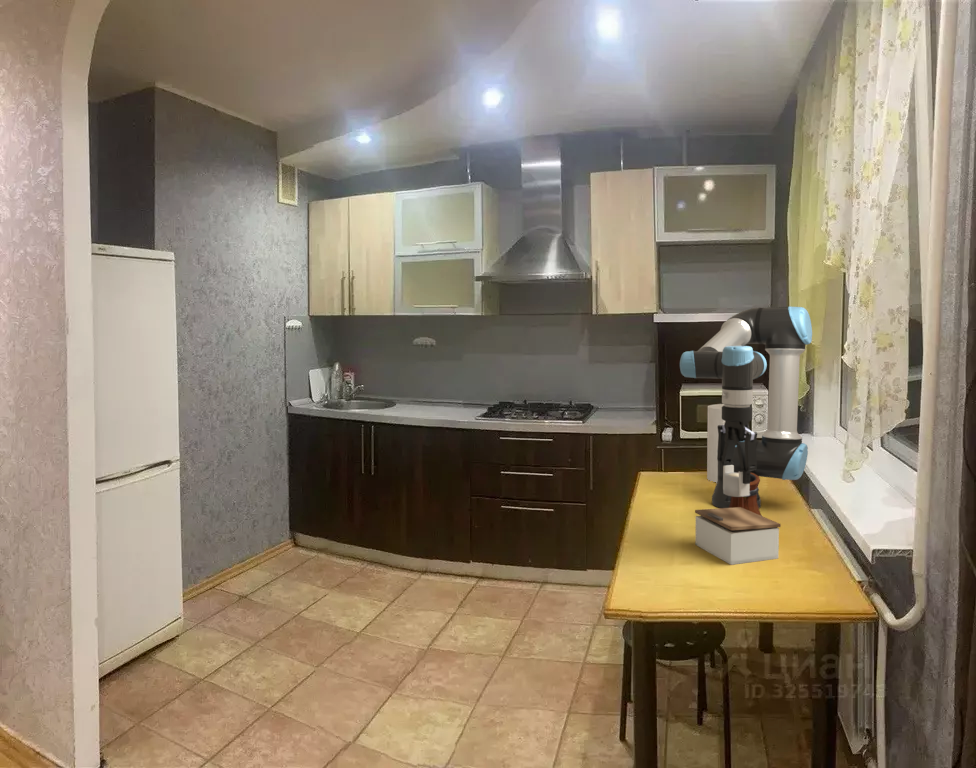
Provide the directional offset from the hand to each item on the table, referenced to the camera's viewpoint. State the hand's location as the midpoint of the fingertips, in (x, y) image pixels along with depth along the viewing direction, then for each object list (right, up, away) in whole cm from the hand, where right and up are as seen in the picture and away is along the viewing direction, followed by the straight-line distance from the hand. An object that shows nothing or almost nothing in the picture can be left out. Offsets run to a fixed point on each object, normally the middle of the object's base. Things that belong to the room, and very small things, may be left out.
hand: (735, 492), depth 177 cm
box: (0, -16, +2) cm, 16 cm away
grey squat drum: (0, 0, 0) cm, 0 cm away
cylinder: (+27, -8, +79) cm, 84 cm away
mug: (+10, -14, +23) cm, 29 cm away
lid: (0, -7, +1) cm, 7 cm away
